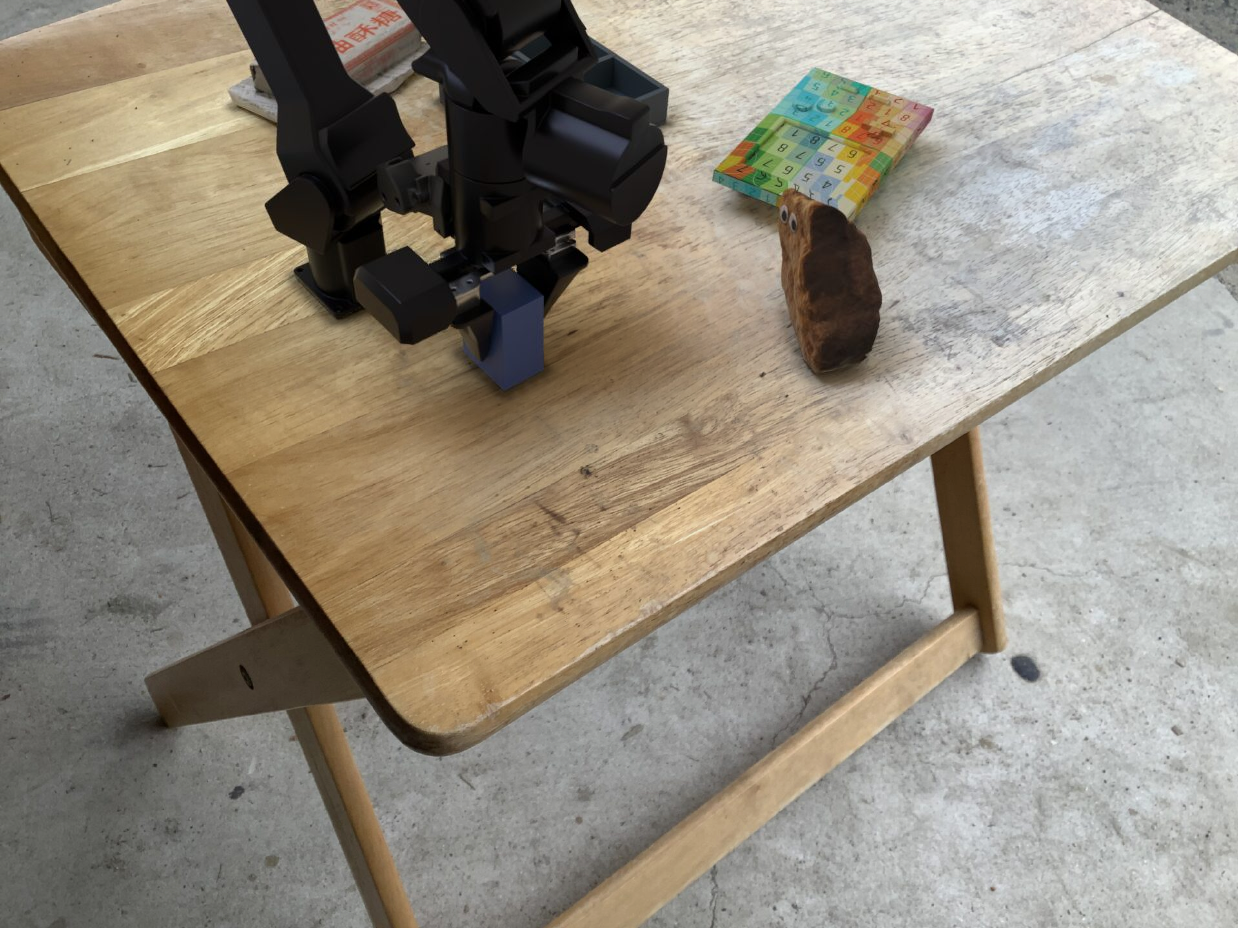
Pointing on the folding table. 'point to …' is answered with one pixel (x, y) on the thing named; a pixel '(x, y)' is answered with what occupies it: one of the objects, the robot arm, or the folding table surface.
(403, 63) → the packaged product
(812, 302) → the decorative rock
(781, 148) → the puzzle game
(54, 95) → the folding table surface
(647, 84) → the organiser
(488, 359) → the carton
